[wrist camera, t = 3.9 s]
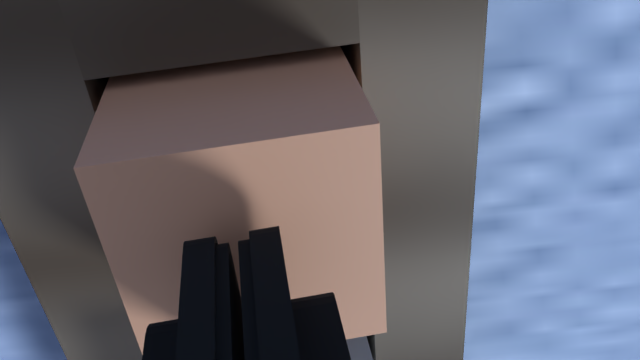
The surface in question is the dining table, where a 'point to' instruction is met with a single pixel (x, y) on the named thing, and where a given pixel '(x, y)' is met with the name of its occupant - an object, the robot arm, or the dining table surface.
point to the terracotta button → (240, 178)
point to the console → (232, 44)
